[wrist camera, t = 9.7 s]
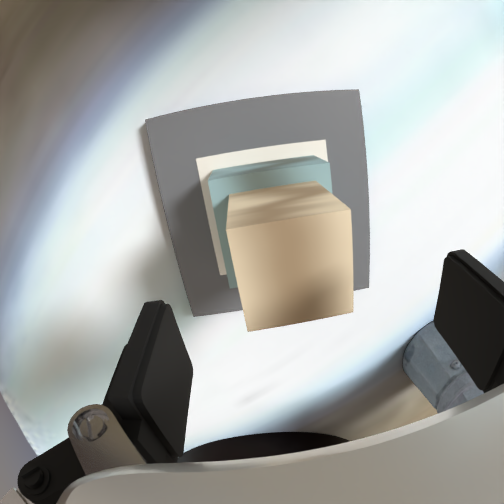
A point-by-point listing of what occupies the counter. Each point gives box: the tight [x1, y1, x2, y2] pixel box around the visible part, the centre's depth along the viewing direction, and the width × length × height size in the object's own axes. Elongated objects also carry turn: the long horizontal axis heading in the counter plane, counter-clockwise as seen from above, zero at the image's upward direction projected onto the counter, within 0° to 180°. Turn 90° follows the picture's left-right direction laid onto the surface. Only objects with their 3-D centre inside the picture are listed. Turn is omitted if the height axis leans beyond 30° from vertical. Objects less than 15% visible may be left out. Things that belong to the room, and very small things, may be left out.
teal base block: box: [208, 155, 332, 289], centre depth 20 cm, size 7×7×4 cm
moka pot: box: [403, 321, 484, 414], centre depth 21 cm, size 10×15×20 cm, turn 53°
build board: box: [145, 90, 370, 317], centre depth 23 cm, size 15×16×1 cm
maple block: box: [226, 181, 353, 332], centre depth 16 cm, size 5×5×6 cm
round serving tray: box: [177, 432, 350, 463], centre depth 40 cm, size 31×4×31 cm
